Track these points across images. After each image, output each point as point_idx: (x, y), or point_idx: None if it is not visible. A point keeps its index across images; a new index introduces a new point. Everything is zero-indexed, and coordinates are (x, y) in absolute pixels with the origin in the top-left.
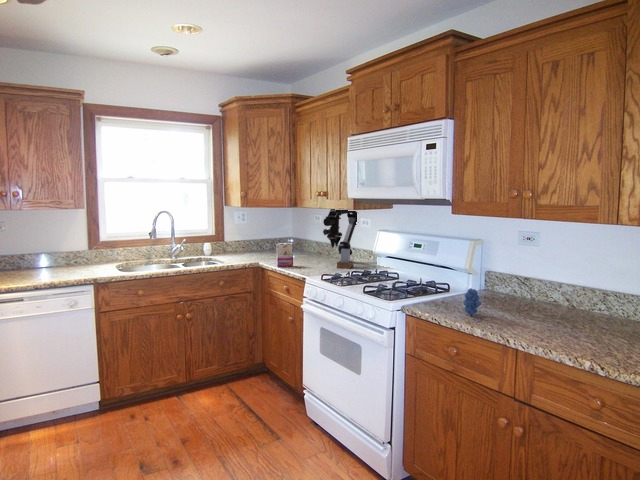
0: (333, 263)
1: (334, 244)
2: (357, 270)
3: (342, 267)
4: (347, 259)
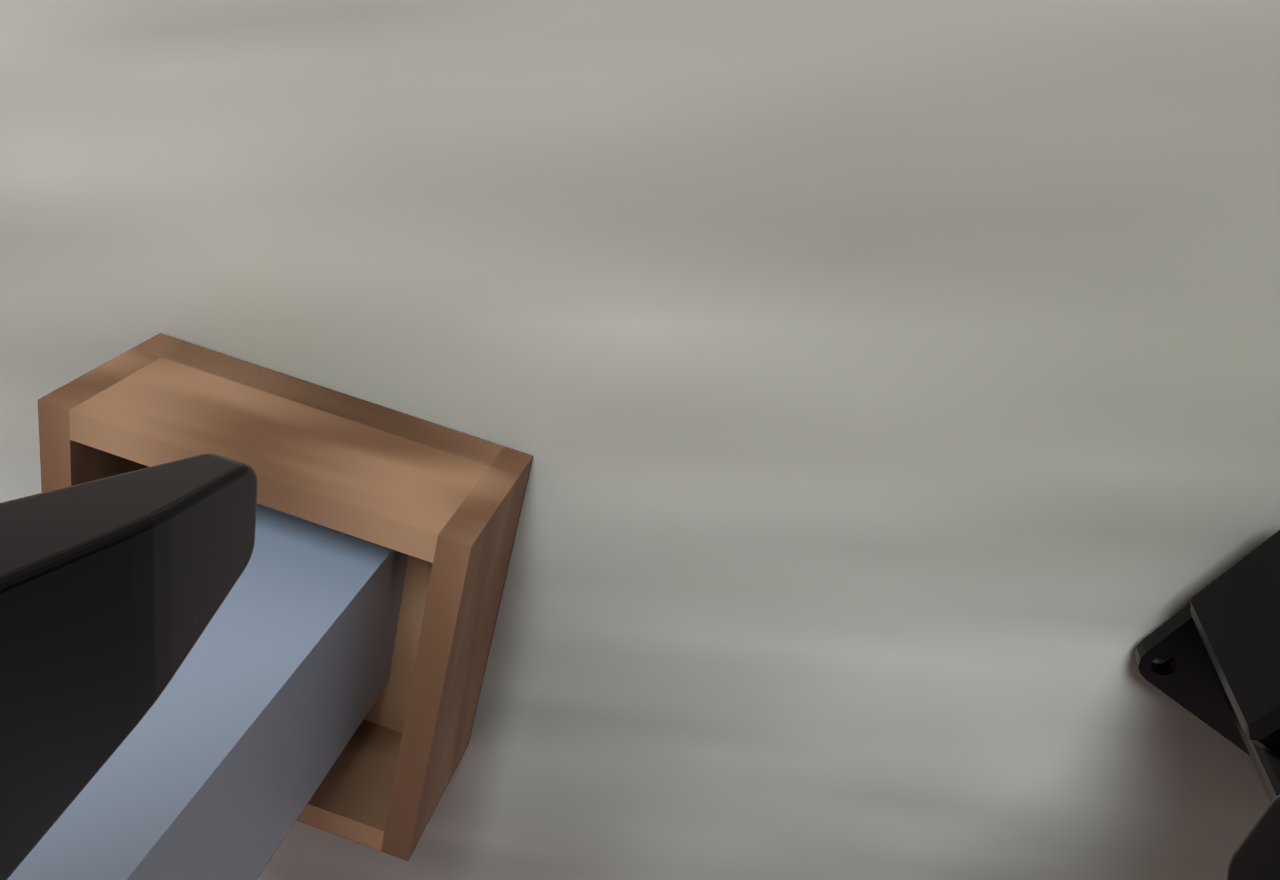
0: (1103, 214)
1: (48, 789)
2: None
3: None
4: None
